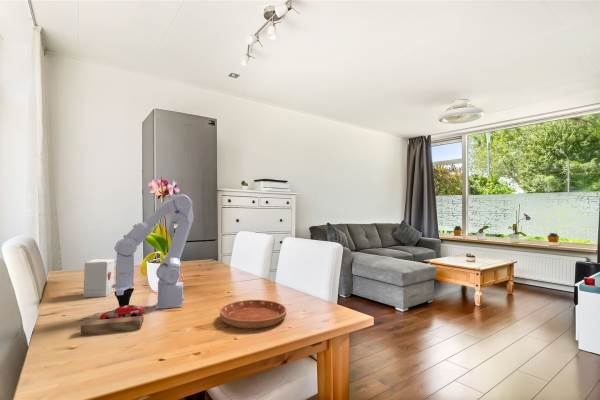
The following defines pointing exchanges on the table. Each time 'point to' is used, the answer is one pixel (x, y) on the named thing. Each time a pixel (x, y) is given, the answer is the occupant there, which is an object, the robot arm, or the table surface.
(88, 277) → the supplement box
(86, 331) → the chock stand
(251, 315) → the saucer
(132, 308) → the race car
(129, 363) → the table surface
